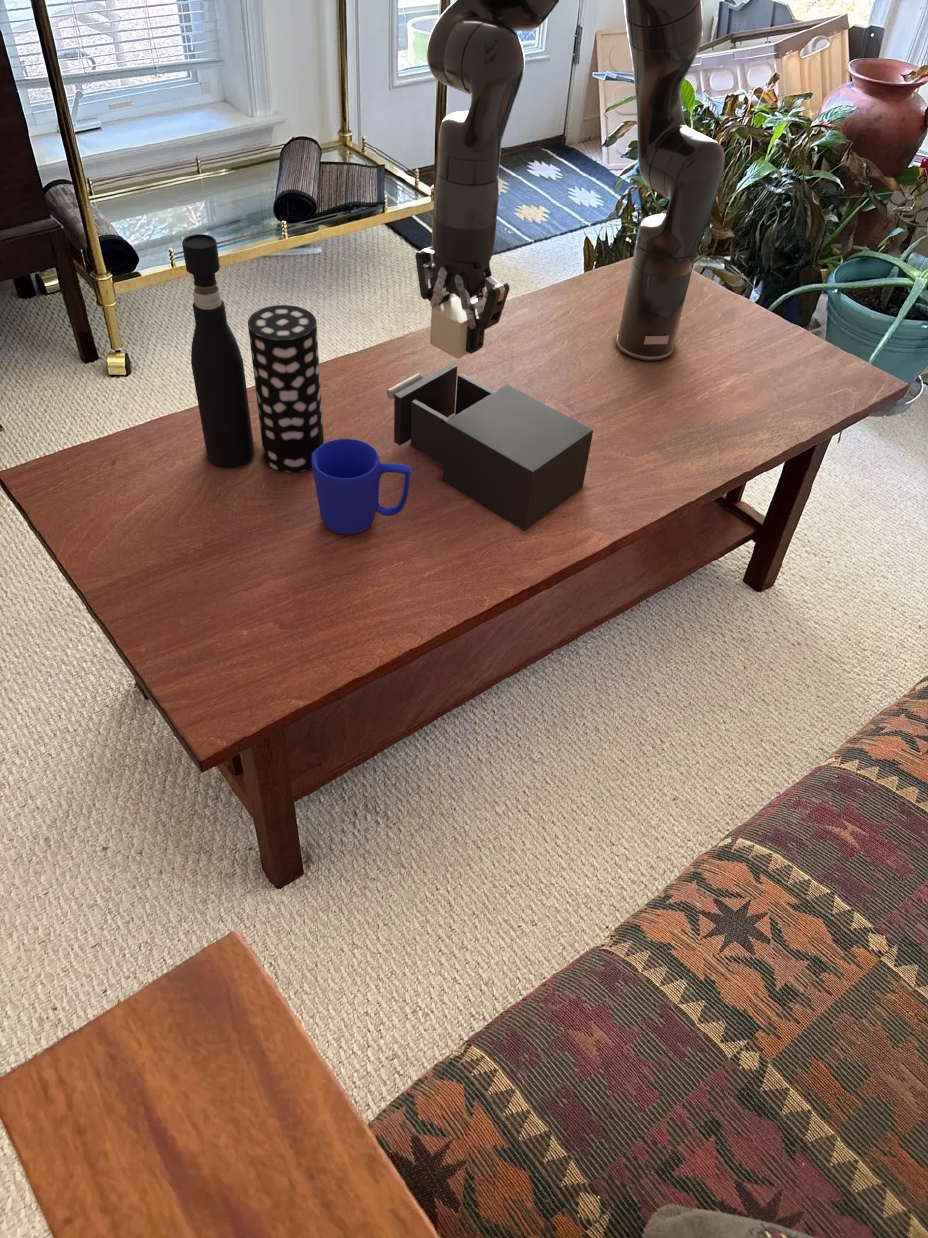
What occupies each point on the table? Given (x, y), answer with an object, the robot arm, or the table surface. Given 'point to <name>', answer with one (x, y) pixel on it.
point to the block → (450, 327)
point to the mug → (352, 484)
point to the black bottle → (217, 362)
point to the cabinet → (515, 455)
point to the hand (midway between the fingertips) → (456, 341)
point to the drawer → (431, 407)
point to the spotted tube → (287, 385)
